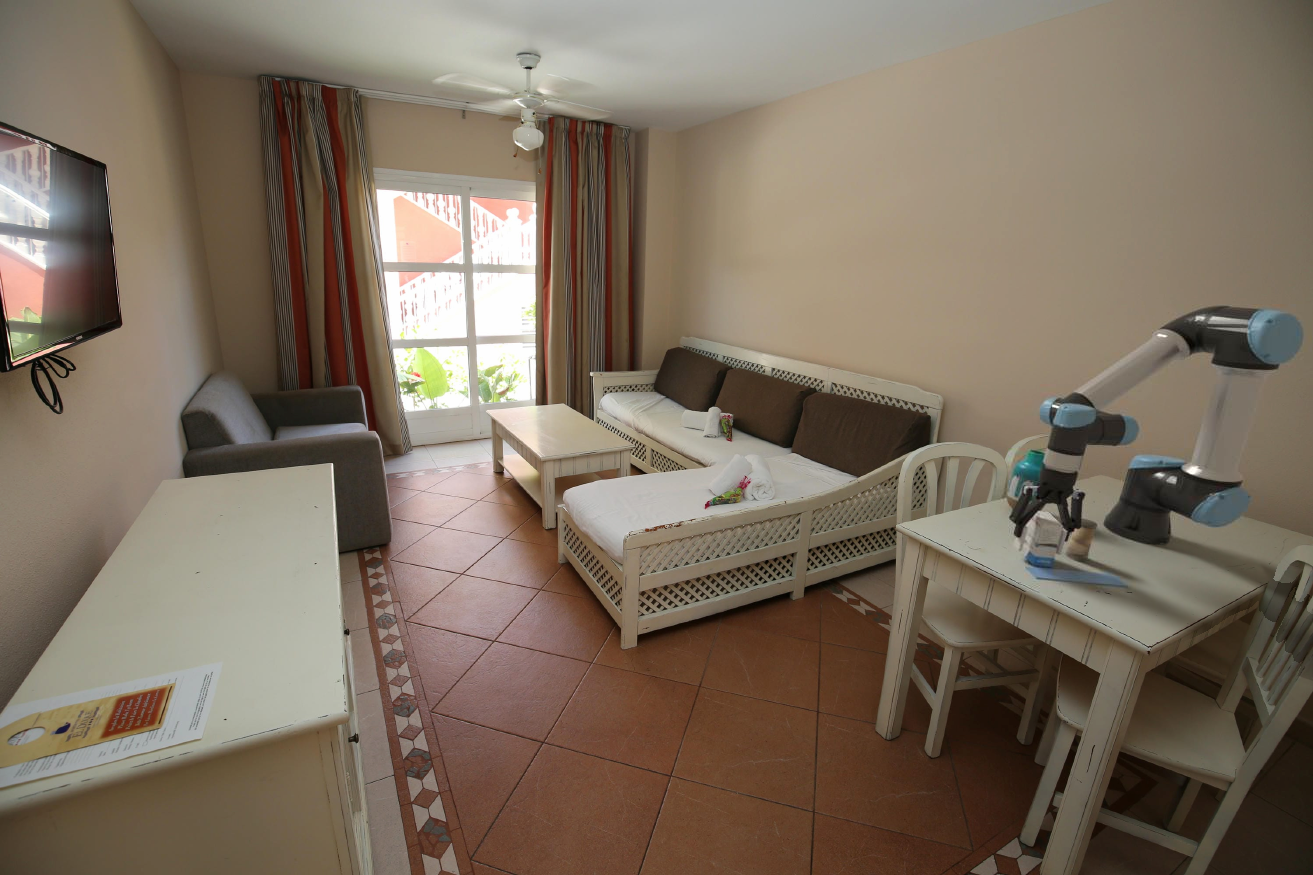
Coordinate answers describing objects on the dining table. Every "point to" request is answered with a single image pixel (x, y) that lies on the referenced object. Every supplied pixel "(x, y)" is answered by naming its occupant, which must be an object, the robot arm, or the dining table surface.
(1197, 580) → the dining table surface
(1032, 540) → the ink box
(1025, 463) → the vase
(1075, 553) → the tan cylindrical piece
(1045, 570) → the tape line
